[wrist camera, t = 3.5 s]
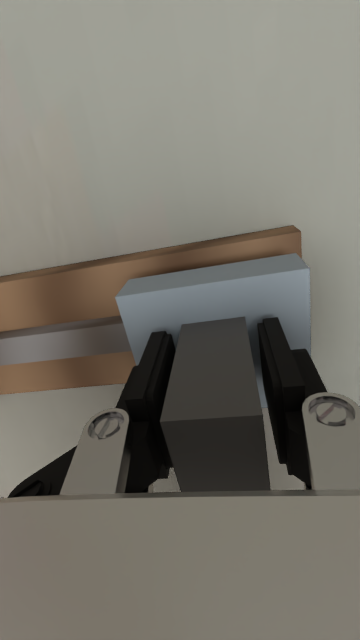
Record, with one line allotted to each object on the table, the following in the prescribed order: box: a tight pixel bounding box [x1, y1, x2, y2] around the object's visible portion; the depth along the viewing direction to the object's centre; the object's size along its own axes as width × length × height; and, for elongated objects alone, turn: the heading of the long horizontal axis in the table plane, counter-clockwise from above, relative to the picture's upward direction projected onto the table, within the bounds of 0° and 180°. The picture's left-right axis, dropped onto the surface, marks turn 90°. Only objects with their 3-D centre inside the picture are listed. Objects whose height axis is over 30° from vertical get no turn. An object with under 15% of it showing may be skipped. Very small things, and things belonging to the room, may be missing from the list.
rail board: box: [0, 226, 302, 395], centre depth 15 cm, size 23×7×6 cm, turn 101°
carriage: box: [115, 253, 311, 492], centre depth 11 cm, size 7×6×7 cm
